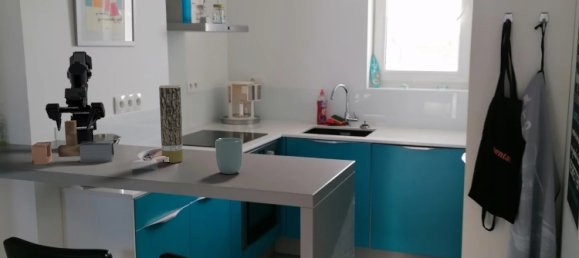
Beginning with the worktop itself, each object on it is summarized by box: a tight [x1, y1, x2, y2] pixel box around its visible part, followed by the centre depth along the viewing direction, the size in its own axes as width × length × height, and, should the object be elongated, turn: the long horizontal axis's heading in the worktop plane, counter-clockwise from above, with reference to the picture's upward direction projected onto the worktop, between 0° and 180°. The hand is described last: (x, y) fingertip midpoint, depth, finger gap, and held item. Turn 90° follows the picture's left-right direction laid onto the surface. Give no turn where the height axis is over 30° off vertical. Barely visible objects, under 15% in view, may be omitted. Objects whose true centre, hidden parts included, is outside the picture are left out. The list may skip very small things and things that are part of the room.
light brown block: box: [30, 141, 53, 166], centre depth 192 cm, size 4×7×6 cm, turn 7°
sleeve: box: [79, 140, 115, 163], centre depth 194 cm, size 10×5×6 cm, turn 98°
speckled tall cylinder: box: [158, 84, 184, 164], centre depth 190 cm, size 7×7×25 cm
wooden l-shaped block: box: [57, 120, 80, 158], centre depth 193 cm, size 16×3×12 cm, turn 98°
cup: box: [214, 137, 244, 175], centre depth 173 cm, size 8×8×10 cm
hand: (72, 130), depth 195 cm, fingers open, 9 cm apart
